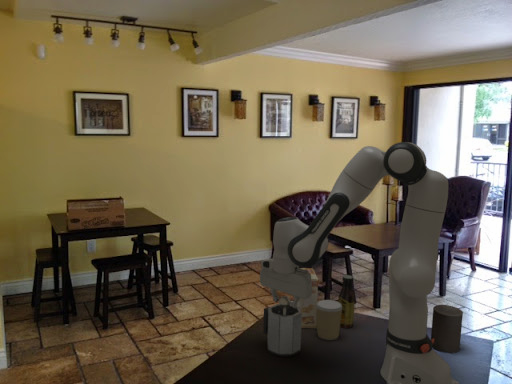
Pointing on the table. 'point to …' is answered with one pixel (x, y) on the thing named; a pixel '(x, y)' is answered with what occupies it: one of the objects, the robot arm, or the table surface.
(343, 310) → the sauce bottle
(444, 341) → the pillar candle
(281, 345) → the press pot
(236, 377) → the table surface
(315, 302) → the coffeecake box
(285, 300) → the plunger
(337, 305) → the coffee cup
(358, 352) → the table surface
